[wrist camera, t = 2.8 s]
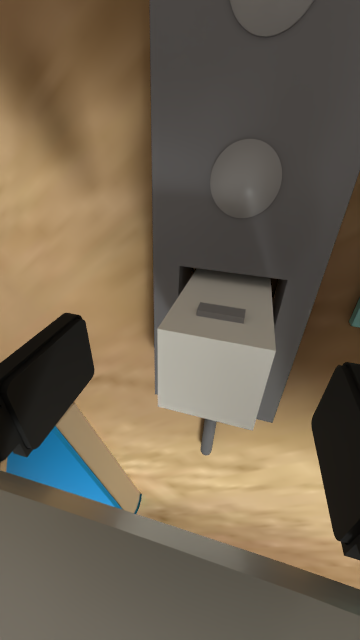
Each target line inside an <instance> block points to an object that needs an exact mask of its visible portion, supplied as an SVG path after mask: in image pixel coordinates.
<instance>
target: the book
mask: <svg viewBox="0 0 360 640" xmlns="http://www.w3.org/2000/svg"><path fill="white" fill-rule="evenodd" d="M6 472H7V473H10V474H14V475H17V476H20V477H23V478H26V479H29V480H32V481H35V482H39V483H42V484H45V485H48V486H51V487H54V488H57V489H60V490H63V491H67V492H70V493H73V494H76V495H79V496H82V497H85V498H88V499H91V500H94V501H97V502H101V503H104V504H107V505H110V506H113V507H116V508H119V509H122V510H125V511H128V512H131V513H134V514H136V513H137V511H138V509H139V506H140V502H141V496H142V494H140V492H139V490H138V489H137V488H136V486H135V485H134V484H133V482H132V481H131V479H130V478H129V477H128V475H127V474H126V473H125V471H124V470H123V468H122V467H121V466H120V464H119V463H118V462H117V460H116V459H115V457H114V456H113V455H112V453H111V452H110V451H109V449H108V448H107V446H106V445H105V444H104V442H103V441H102V440H101V438H100V437H99V436H98V434H97V433H96V431H95V430H94V429H93V427H92V426H91V425H90V423H89V422H88V420H87V419H86V418H85V416H84V415H83V414H82V412H81V411H80V409H79V408H78V407H77V405H76V404H75V403H72V405H71V406H70V407H69V409H68V410H67V411H66V412H65V414H64V415H63V416H62V418H61V419H60V420H59V422H58V423H57V424H56V425H55V427H54V428H53V429H52V431H51V432H50V433H49V435H48V436H47V437H46V439H45V440H44V441H43V442H42V444H41V445H40V446H39V447H38V448H37V449H33V451H32V452H31V453H30V454H29V456H28V457H23V456H20V455H17V454H14V453H13V451H12V452H11V453H10V455H9V456H8V457H7V468H6Z"/></svg>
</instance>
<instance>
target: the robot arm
mask: <svg viewBox="0 0 360 640" xmlns="http://www.w3.org/2000/svg"><path fill="white" fill-rule="evenodd" d="M93 375H94V365H93V359H92V354H91V349H90V344H89V338H88V333H87V328H86V323H85V321H84V320H83V319H82V317H81V316H80V315H76V314H70V313H64V314H63V315H61V316H60V317H59V318H57V319H56V320H55V321H54V322H52V323H51V324H50V325H48V326H47V327H46V328H45V329H43V330H42V331H41V332H40V333H38V334H37V335H36V336H34V337H33V338H32V339H31V340H29V341H28V342H27V343H25V344H24V345H23V346H22V347H20V348H19V349H18V350H16V351H15V352H14V353H13V354H11V355H10V356H9V357H7V358H6V359H5V360H4V361H2V362H1V363H0V640H360V590H359V589H357V588H354V587H351V586H348V585H345V584H342V583H340V582H337V581H334V580H331V579H328V578H325V577H322V576H320V575H317V574H314V573H311V572H308V571H305V570H303V569H300V568H297V567H294V566H291V565H288V564H285V563H282V562H279V561H276V560H273V559H270V558H267V557H264V556H261V555H258V554H255V553H252V552H249V551H246V550H243V549H240V548H237V547H234V546H231V545H228V544H225V543H222V542H219V541H216V540H213V539H210V538H207V537H204V536H201V535H198V534H195V533H192V532H189V531H186V530H183V529H180V528H177V527H174V526H171V525H168V524H165V523H162V522H159V521H156V520H153V519H150V518H146V517H143V516H140V515H137V514H134V513H131V512H128V511H125V510H122V509H119V508H116V507H113V506H110V505H107V504H104V503H101V502H97V501H94V500H91V499H88V498H85V497H82V496H79V495H76V494H73V493H70V492H67V491H63V490H60V489H57V488H54V487H51V486H48V485H45V484H42V483H39V482H35V481H32V480H29V479H26V478H23V477H20V476H17V475H14V474H10V473H7V472H6V468H7V457H8V456H9V455H10V453H11V452H12V451H13V453H14V454H17V455H20V456H23V457H28V456H29V454H30V453H31V452H32V451H33V449H37V448H38V447H39V446H40V445H41V444H42V442H43V441H44V440H45V439H46V437H47V436H48V435H49V433H50V432H51V431H52V429H53V428H54V427H55V425H56V424H57V423H58V422H59V420H60V419H61V418H62V416H63V415H64V414H65V412H66V411H67V410H68V409H69V407H70V406H71V405H72V403H73V402H74V401H75V399H76V398H77V397H78V395H79V394H80V393H81V392H82V390H83V389H84V388H85V386H86V385H87V384H88V382H89V381H90V380H91V379H92V377H93ZM312 431H313V436H314V441H315V446H316V451H317V456H318V460H319V465H320V470H321V475H322V480H323V485H324V489H325V494H326V499H327V504H328V509H329V514H330V518H331V523H332V528H333V532H334V536H335V538H336V539H337V540H338V541H341V544H342V548H343V553H344V556H348V557H351V558H354V559H357V560H360V364H355V363H349V362H345V363H344V364H343V365H342V366H341V365H338V366H337V367H336V369H335V371H334V373H333V375H332V377H331V379H330V382H329V384H328V386H327V388H326V390H325V392H324V394H323V396H322V398H321V400H320V402H319V405H318V407H317V409H316V411H315V413H314V415H313V417H312Z"/></svg>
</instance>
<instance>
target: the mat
mask: <svg viewBox="0 0 360 640" xmlns="http://www.w3.org/2000/svg"><path fill="white" fill-rule="evenodd" d="M349 323H350V324H351V326H354V327H360V298H359V300H358V302H357V305H356V307H355V309H354V311H353V314H352V316H351V318H350V320H349Z"/></svg>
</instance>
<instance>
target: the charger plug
mask: <svg viewBox="0 0 360 640" xmlns="http://www.w3.org/2000/svg"><path fill="white" fill-rule="evenodd" d="M157 347H158V407H162V408H166V409H170V410H174V411H178V412H182V413H186V414H190V415H193V416H197V417H201V418H205V419H209V420H213V421H217V422H221V423H225V424H229V425H233V426H237V427H241V428H244V429H248V430H252V431H253V428H254V424H255V421H256V417H257V414H258V411H259V407H260V404H261V400H262V397H263V394H264V390H265V387H266V383H267V380H268V376H269V373H270V370H271V366H272V363H273V359H274V356H275V353H276V345H275V332H274V318H273V305H272V292H271V278H268V277H260V276H253V275H245V274H237V273H230V272H222V271H215V270H207V269H199V268H197V269H196V271H195V272H194V274H193V275H192V277H191V278H190V280H189V281H188V283H187V284H186V286H185V287H184V289H183V291H182V292H181V294H180V295H179V297H178V298H177V300H176V301H175V303H174V304H173V306H172V307H171V309H170V310H169V312H168V313H167V315H166V316H165V318H164V319H163V321H162V322H161V324H160V325H159V327H158V329H157Z"/></svg>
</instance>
